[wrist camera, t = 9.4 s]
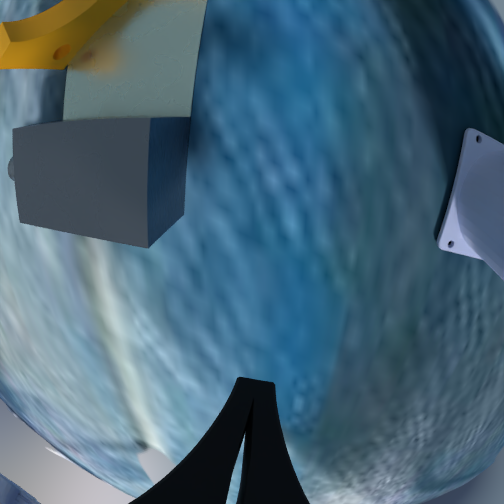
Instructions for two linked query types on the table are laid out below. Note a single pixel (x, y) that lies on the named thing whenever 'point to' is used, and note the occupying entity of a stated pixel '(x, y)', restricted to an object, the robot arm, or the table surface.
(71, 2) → the pipe clamp
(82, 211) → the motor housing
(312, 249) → the table surface
